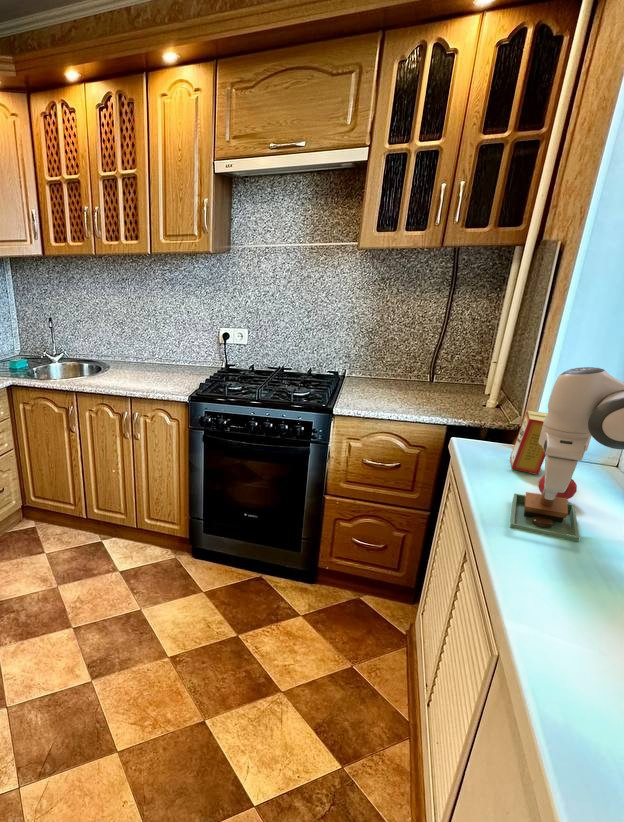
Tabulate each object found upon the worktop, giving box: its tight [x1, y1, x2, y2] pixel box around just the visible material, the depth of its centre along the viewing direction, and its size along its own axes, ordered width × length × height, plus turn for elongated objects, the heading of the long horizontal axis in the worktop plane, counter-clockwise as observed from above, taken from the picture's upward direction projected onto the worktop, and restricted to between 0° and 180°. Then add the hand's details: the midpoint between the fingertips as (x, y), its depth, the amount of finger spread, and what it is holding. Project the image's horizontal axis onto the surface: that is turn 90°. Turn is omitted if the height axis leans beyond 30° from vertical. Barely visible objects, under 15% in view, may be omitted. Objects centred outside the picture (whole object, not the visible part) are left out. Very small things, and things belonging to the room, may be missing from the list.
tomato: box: [537, 474, 578, 500], centre depth 135 cm, size 8×8×8 cm
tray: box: [509, 493, 580, 543], centre depth 124 cm, size 19×12×3 cm, turn 145°
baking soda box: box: [509, 409, 548, 475], centre depth 153 cm, size 10×6×16 cm
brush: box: [524, 488, 568, 523], centre depth 123 cm, size 8×5×11 cm, turn 59°
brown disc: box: [531, 516, 553, 528], centre depth 123 cm, size 4×4×1 cm
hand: (548, 494), depth 123 cm, fingers closed on brush, 3 cm apart
